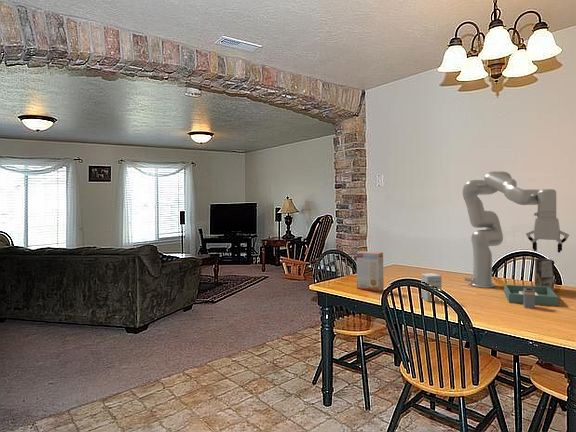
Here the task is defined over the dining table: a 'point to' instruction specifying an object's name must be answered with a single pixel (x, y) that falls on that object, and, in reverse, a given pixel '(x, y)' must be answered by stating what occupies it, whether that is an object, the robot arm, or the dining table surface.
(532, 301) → the connector
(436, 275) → the supplement box
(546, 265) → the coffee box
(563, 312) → the dining table surface
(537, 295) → the walled box
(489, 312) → the dining table surface
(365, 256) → the cracker box
